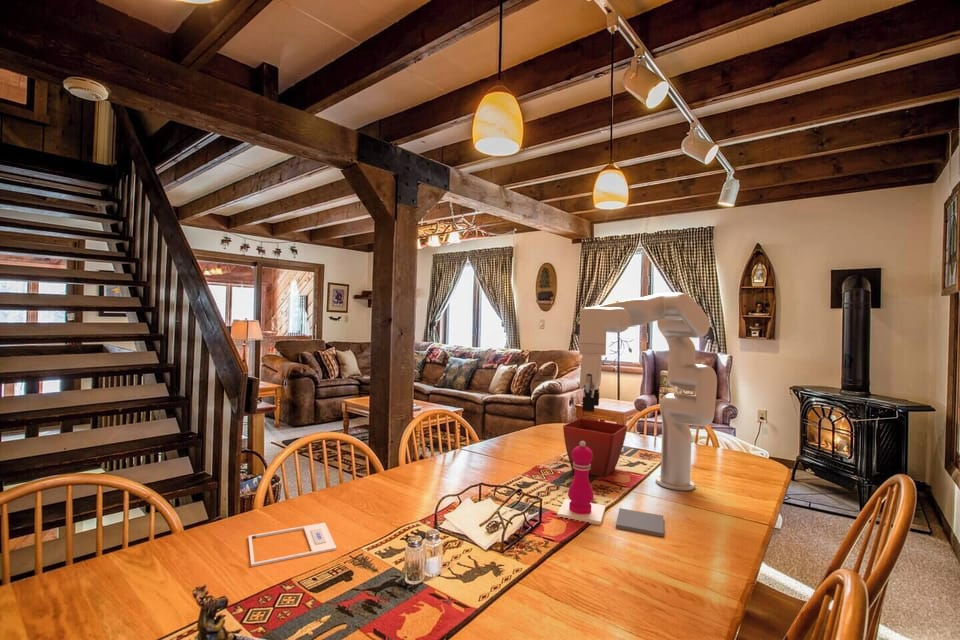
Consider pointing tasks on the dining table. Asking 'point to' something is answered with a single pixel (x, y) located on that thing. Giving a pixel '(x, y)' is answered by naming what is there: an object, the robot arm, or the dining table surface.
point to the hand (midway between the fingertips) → (590, 408)
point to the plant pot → (596, 443)
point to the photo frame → (315, 536)
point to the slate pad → (640, 522)
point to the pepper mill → (581, 480)
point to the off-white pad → (592, 517)
